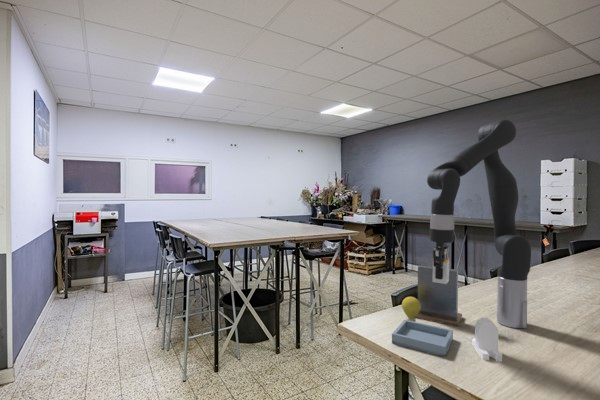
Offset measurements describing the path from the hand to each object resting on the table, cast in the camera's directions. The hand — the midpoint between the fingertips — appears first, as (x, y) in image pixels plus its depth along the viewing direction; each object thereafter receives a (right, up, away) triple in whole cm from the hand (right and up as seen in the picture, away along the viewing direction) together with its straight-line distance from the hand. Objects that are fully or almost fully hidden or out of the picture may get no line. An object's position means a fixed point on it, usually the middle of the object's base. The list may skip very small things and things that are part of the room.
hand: (440, 277), depth 110 cm
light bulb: (-7, -20, +9) cm, 23 cm away
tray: (-8, -20, -4) cm, 22 cm away
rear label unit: (+6, -19, +16) cm, 26 cm away
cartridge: (0, -1, 0) cm, 1 cm away
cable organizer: (+9, -20, -12) cm, 25 cm away
